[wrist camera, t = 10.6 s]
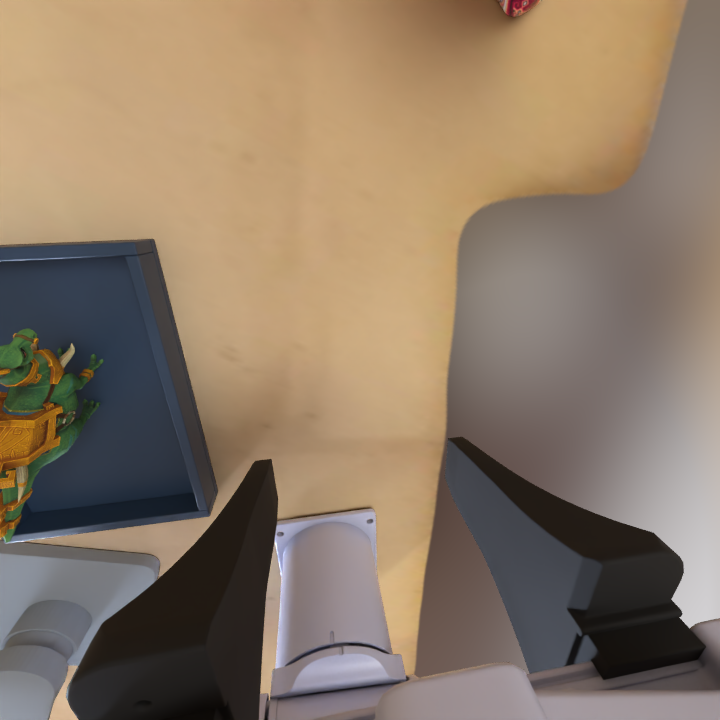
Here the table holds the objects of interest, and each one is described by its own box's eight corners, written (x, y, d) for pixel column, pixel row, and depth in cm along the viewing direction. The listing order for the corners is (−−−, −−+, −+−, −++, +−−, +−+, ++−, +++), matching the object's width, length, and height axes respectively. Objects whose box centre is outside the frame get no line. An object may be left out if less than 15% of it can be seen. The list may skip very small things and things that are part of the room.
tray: (218, 491, 25) (210, 516, 22) (32, 514, 23) (4, 544, 21) (154, 239, 18) (134, 241, 16) (-114, 249, 16) (-176, 254, 14)
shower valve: (-98, 767, 23) (-132, 624, 18) (-26, 668, 28) (-37, 536, 23) (108, 758, 26) (127, 635, 21) (140, 671, 31) (161, 555, 26)
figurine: (121, 314, 19) (-4, 379, 11) (93, 482, 22) (-14, 615, 15) (56, 294, 18) (-126, 351, 10) (38, 472, 21) (-104, 608, 14)
